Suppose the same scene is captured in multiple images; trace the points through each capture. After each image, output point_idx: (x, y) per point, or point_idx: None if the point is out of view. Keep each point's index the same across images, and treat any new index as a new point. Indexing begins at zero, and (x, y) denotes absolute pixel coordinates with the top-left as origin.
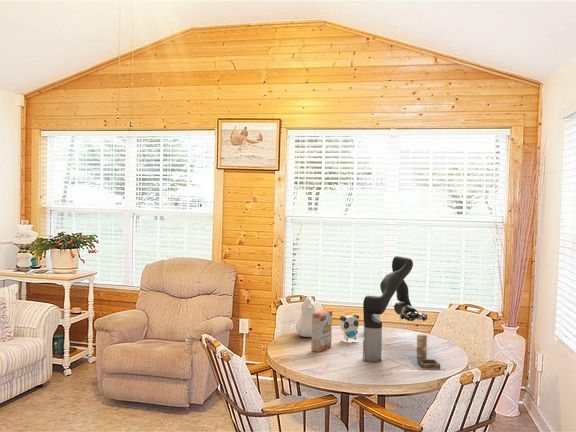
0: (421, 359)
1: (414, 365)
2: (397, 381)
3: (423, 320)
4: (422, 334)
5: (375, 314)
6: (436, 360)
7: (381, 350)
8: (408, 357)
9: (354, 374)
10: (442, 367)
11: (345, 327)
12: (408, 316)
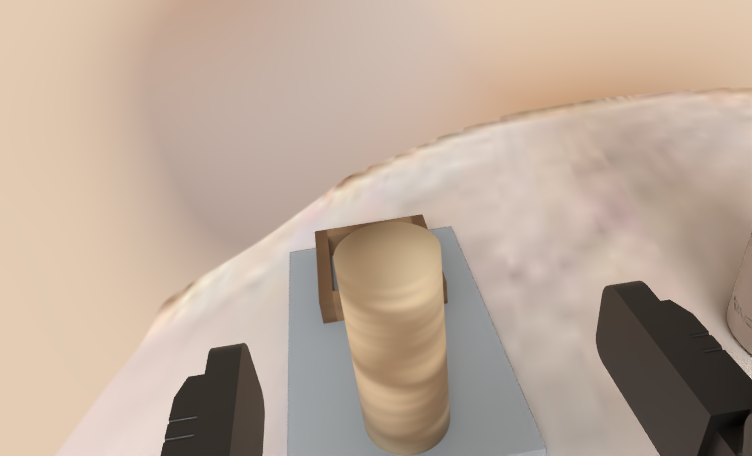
0: None
1: (466, 262)
2: (531, 130)
3: (262, 411)
4: (374, 280)
5: None
6: (292, 383)
7: (749, 262)
8: (523, 411)
9: (741, 140)
10: (300, 266)
11: None
12: (643, 309)
